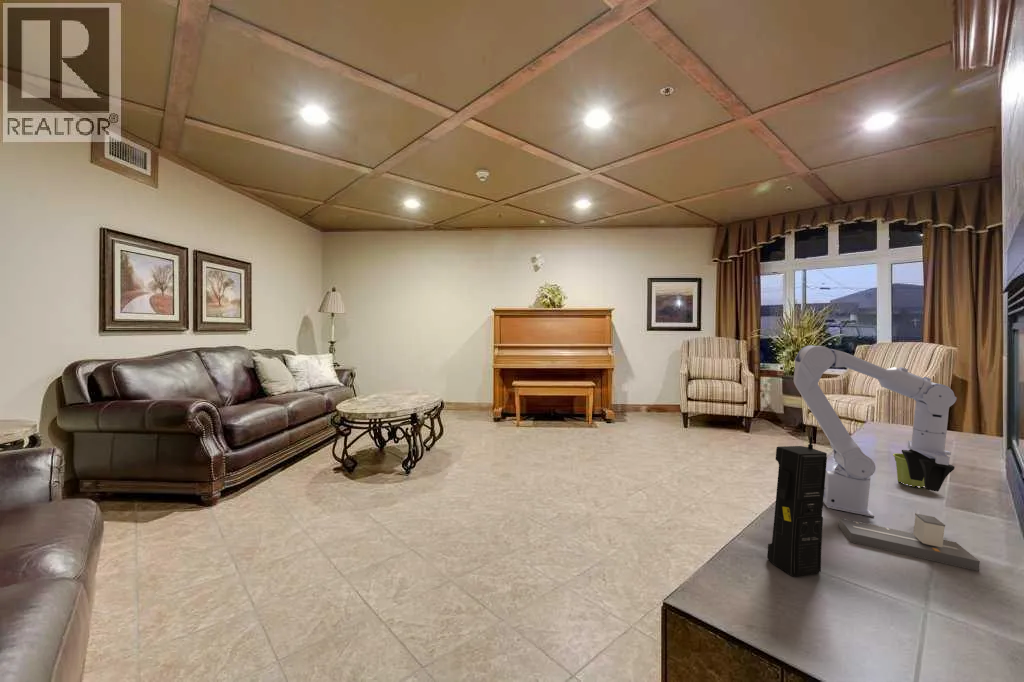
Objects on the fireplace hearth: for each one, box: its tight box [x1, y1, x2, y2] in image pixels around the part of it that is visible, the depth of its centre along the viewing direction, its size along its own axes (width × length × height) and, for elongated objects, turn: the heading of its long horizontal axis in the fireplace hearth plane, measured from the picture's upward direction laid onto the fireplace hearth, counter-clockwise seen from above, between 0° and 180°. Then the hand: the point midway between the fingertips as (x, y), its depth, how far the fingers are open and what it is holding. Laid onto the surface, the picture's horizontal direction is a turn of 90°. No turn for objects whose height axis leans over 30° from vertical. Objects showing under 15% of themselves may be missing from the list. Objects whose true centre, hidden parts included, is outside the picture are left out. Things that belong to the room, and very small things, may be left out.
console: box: [838, 517, 981, 572], centre depth 86 cm, size 20×8×2 cm, turn 65°
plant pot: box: [892, 453, 925, 487], centre depth 125 cm, size 9×9×9 cm
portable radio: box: [766, 435, 828, 577], centre depth 75 cm, size 8×6×25 cm
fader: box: [913, 513, 946, 547], centre depth 84 cm, size 3×4×5 cm
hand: (923, 484), depth 98 cm, fingers open, 7 cm apart
